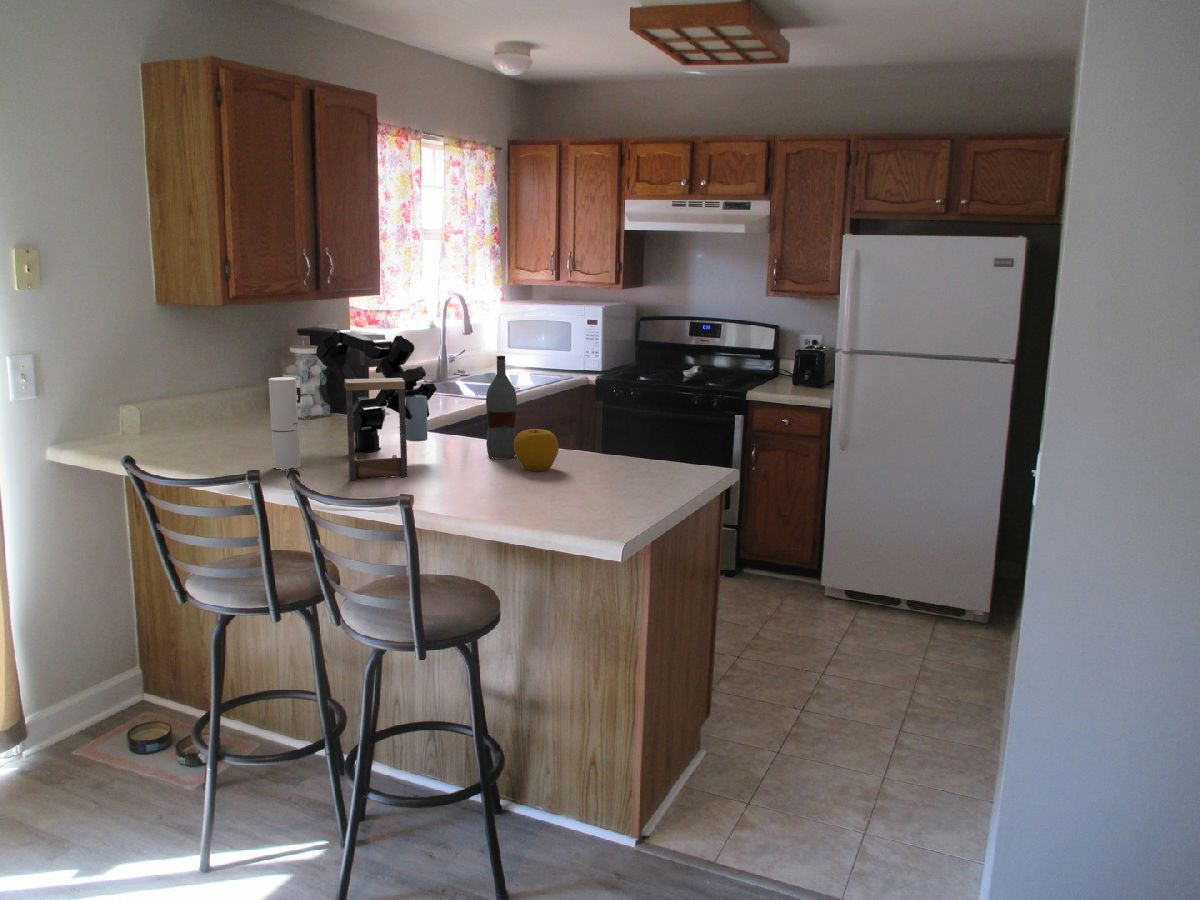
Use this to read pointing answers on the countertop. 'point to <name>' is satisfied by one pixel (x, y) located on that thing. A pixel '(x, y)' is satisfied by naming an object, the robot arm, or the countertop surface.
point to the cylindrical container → (284, 422)
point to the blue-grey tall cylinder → (416, 418)
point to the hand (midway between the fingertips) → (419, 417)
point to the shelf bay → (356, 467)
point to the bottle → (501, 414)
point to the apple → (536, 449)
